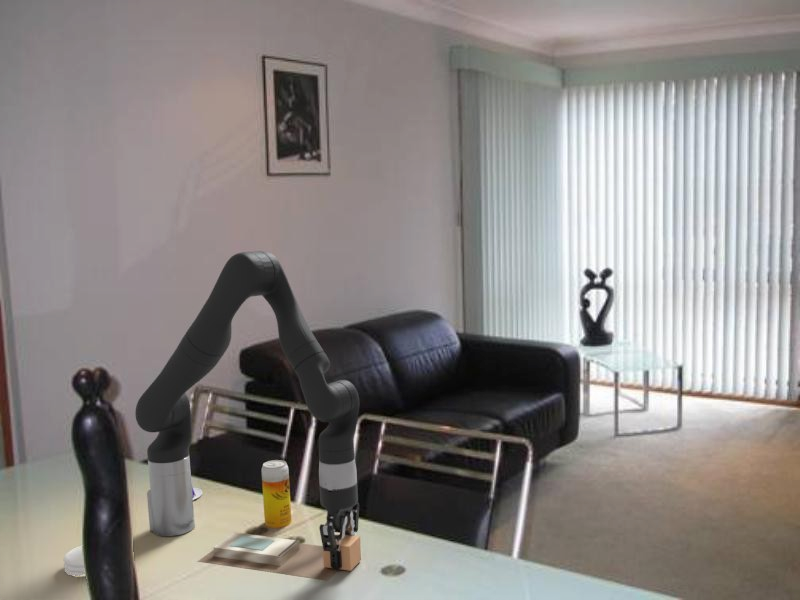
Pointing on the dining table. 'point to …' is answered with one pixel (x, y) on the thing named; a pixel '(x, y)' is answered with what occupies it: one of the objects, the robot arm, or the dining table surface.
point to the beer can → (276, 494)
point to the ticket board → (291, 567)
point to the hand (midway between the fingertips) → (342, 561)
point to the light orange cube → (346, 553)
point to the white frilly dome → (74, 562)
